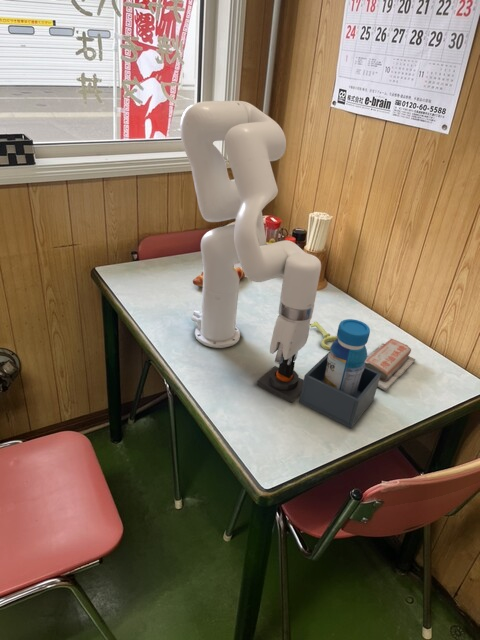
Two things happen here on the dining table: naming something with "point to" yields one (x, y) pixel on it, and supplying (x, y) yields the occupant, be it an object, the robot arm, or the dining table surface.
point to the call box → (281, 385)
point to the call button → (283, 377)
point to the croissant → (199, 279)
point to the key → (326, 336)
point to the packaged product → (389, 361)
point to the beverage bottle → (347, 356)
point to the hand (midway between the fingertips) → (285, 374)
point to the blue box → (338, 394)
